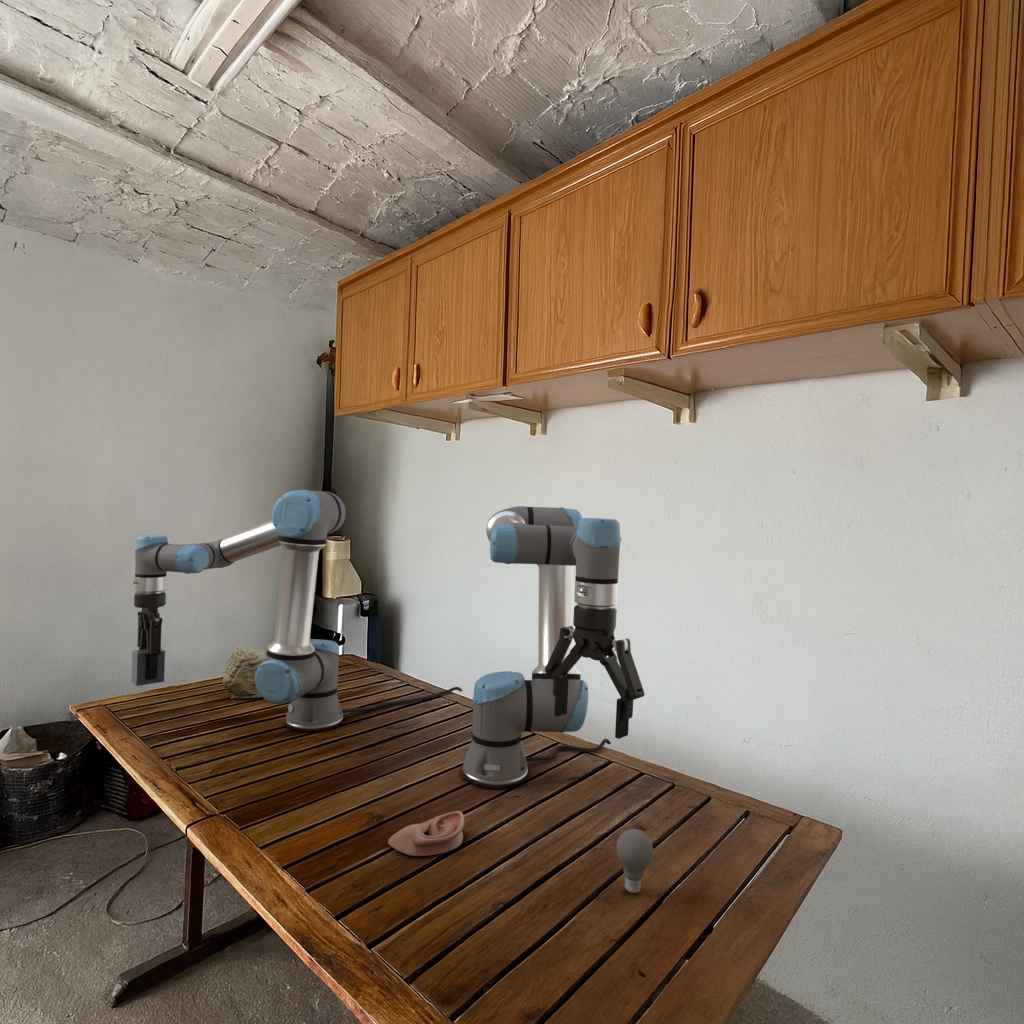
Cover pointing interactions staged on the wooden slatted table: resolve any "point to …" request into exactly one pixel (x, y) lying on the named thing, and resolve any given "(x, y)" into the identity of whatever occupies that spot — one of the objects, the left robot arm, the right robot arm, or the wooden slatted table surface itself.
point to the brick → (140, 666)
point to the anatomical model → (430, 835)
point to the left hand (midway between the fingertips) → (148, 676)
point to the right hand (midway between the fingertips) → (589, 725)
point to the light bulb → (634, 857)
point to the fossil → (243, 672)
